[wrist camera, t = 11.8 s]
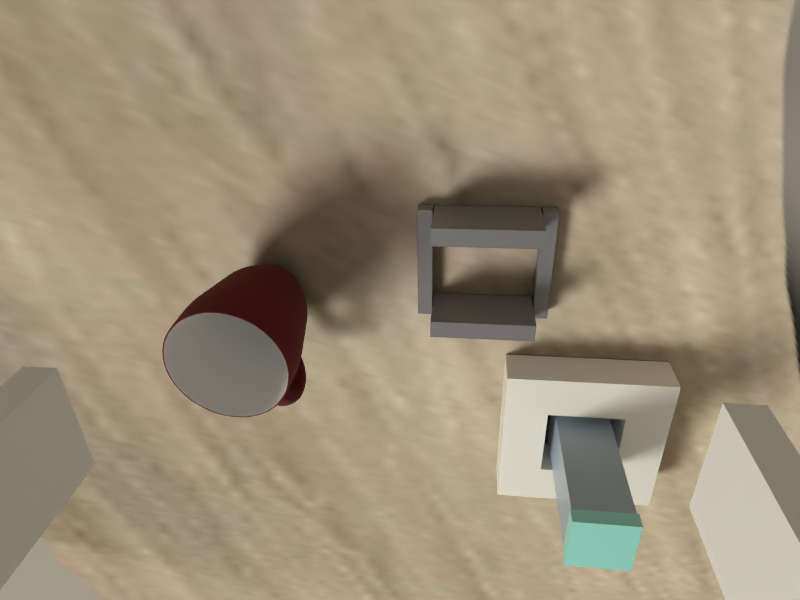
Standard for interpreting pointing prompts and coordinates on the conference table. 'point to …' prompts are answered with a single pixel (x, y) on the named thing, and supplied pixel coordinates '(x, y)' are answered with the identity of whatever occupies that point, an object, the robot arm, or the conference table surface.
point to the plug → (592, 494)
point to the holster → (486, 230)
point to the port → (583, 397)
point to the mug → (241, 343)
